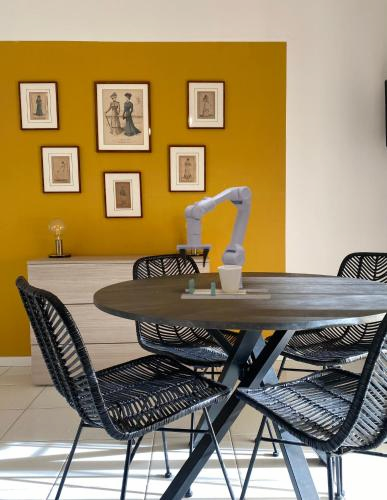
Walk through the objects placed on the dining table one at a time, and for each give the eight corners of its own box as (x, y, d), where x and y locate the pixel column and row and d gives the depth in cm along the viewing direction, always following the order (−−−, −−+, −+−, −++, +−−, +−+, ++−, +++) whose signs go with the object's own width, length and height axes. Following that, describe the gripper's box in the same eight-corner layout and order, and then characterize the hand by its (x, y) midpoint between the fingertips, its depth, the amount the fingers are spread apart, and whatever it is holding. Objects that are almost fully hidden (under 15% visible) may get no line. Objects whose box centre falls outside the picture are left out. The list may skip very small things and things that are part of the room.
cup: (247, 294, 201) (247, 267, 199) (226, 297, 196) (226, 269, 195) (234, 290, 209) (233, 264, 208) (213, 293, 205) (212, 266, 203)
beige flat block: (191, 291, 209) (190, 278, 208) (245, 291, 207) (245, 278, 206) (188, 296, 198) (188, 282, 197) (246, 296, 196) (246, 282, 195)
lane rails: (185, 291, 210) (185, 278, 209) (267, 291, 207) (267, 277, 207) (181, 299, 193) (180, 284, 192) (270, 299, 190) (270, 284, 190)
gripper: (175, 235, 204) (176, 268, 205) (211, 234, 203) (211, 268, 204) (177, 234, 211) (178, 266, 212) (212, 233, 210) (212, 266, 211)
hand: (194, 267), depth 208 cm, fingers open, 7 cm apart
